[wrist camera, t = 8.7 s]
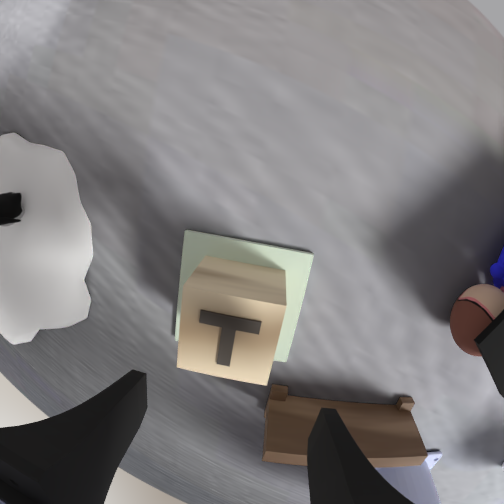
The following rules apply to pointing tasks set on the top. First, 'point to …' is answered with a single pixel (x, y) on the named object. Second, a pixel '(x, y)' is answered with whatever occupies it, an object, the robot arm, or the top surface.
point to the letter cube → (231, 319)
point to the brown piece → (355, 419)
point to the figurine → (40, 241)
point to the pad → (257, 254)
